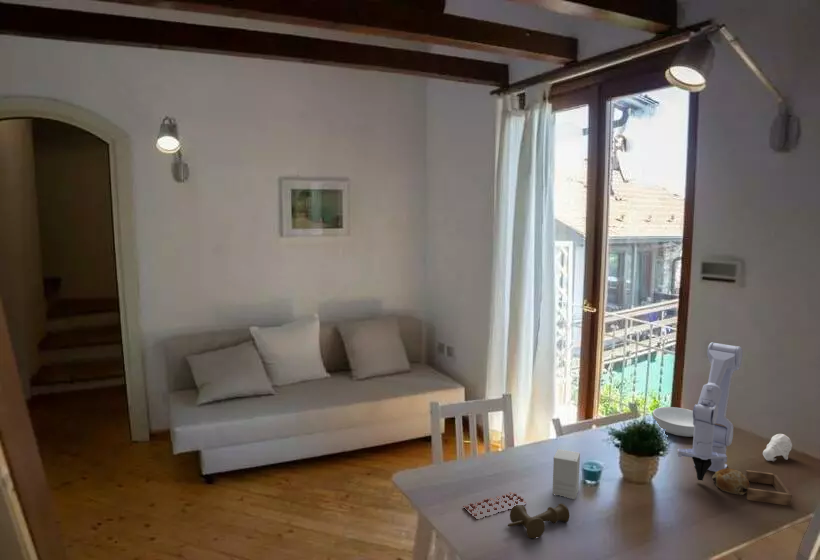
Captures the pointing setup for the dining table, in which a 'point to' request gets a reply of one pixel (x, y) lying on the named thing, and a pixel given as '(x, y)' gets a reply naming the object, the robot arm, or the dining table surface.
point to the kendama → (537, 518)
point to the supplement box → (566, 473)
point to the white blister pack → (494, 503)
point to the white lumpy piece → (778, 447)
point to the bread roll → (731, 481)
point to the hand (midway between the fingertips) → (699, 479)
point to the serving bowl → (675, 420)
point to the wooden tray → (764, 495)
